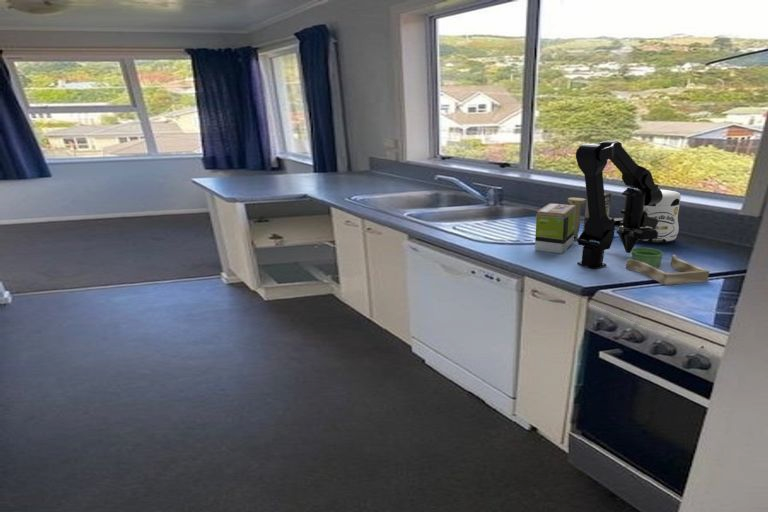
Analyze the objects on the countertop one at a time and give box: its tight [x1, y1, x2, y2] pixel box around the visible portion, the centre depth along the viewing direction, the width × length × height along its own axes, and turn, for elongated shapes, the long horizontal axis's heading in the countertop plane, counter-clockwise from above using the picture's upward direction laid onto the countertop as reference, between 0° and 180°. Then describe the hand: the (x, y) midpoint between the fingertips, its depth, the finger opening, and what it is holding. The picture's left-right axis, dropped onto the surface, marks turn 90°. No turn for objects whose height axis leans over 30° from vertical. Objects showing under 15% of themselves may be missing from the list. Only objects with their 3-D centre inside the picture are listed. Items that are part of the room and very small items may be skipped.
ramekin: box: [631, 247, 664, 268], centre depth 153 cm, size 9×9×4 cm
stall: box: [625, 254, 710, 286], centre depth 144 cm, size 16×17×3 cm
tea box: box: [534, 202, 576, 254], centre depth 172 cm, size 15×10×15 cm
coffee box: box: [582, 192, 612, 232], centre depth 186 cm, size 9×6×16 cm
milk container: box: [637, 188, 681, 244], centre depth 176 cm, size 17×17×18 cm
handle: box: [567, 197, 587, 238], centre depth 184 cm, size 5×6×15 cm
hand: (628, 252), depth 162 cm, fingers closed
